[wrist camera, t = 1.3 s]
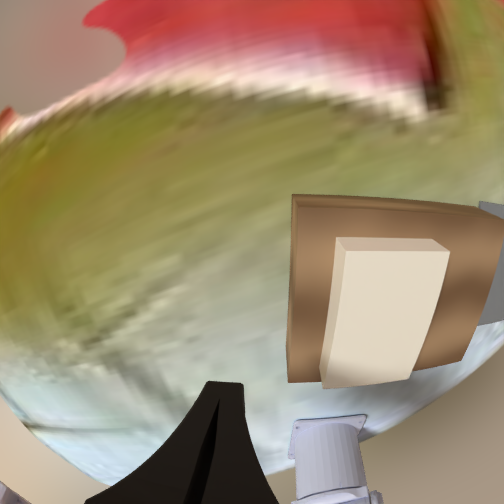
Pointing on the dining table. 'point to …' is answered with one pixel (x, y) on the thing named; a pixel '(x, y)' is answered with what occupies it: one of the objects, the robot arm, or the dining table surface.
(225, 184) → the dining table surface
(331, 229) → the plate
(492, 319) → the mat
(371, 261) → the cream rectangular block
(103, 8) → the dining table surface
